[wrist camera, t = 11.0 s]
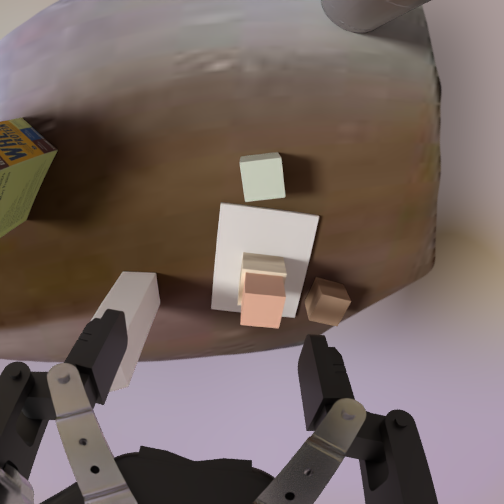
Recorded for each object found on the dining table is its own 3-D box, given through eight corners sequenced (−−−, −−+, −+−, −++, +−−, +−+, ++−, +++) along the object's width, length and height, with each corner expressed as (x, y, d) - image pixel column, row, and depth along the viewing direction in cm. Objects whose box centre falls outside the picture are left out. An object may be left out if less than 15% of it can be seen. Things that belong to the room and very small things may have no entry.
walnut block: (316, 276, 49) (322, 294, 44) (343, 283, 50) (351, 301, 45) (304, 301, 51) (308, 320, 47) (330, 307, 52) (337, 326, 47)
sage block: (240, 156, 41) (239, 162, 36) (277, 152, 41) (281, 157, 36) (245, 191, 43) (245, 201, 38) (281, 187, 43) (285, 197, 38)
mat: (221, 202, 43) (220, 203, 43) (318, 215, 44) (319, 216, 44) (211, 306, 51) (211, 308, 51) (294, 315, 52) (294, 317, 52)
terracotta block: (245, 272, 42) (245, 292, 37) (282, 276, 42) (285, 297, 38) (241, 302, 44) (240, 324, 40) (276, 306, 44) (278, 328, 40)
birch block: (243, 252, 46) (242, 268, 42) (283, 256, 47) (286, 273, 42) (238, 286, 49) (237, 305, 44) (276, 290, 49) (278, 309, 45)
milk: (128, 300, 51) (79, 397, 31) (122, 270, 48) (62, 365, 29) (161, 302, 51) (122, 406, 31) (156, 271, 48) (107, 374, 29)
